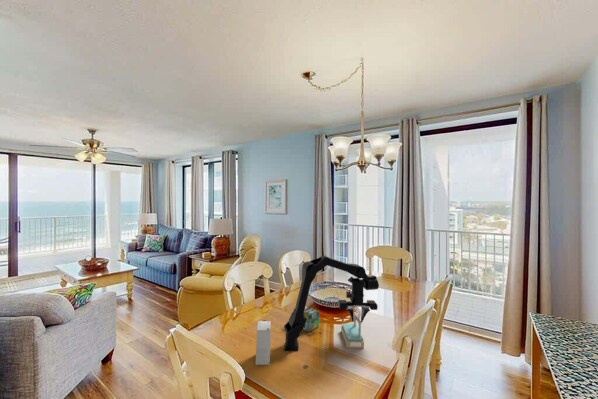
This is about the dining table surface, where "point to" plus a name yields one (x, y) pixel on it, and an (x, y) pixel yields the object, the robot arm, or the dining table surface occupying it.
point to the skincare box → (263, 343)
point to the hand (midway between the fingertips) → (357, 322)
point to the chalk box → (311, 318)
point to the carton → (352, 341)
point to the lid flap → (353, 329)
